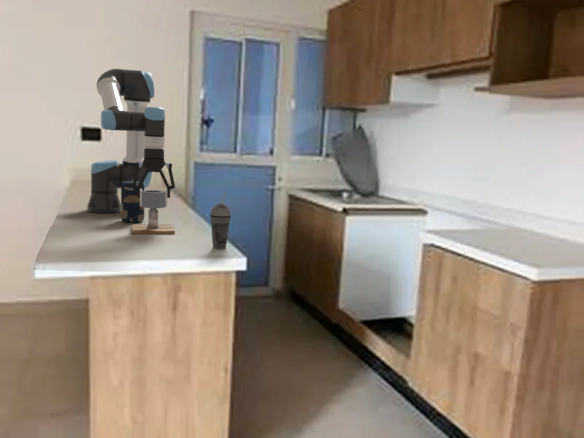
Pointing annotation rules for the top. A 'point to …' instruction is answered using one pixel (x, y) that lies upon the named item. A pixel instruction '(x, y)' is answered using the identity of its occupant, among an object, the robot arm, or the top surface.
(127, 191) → the canister
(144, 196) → the ring
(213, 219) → the beverage cup
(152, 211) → the post block
